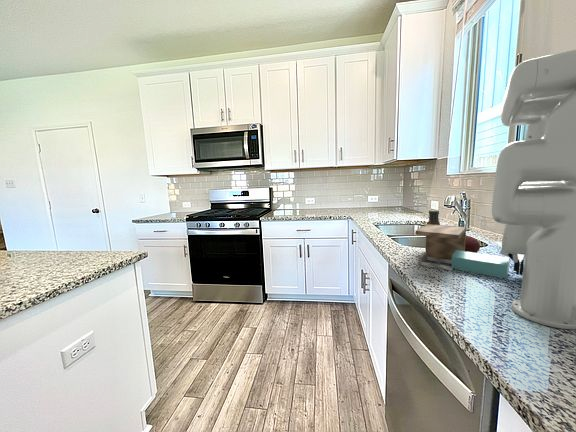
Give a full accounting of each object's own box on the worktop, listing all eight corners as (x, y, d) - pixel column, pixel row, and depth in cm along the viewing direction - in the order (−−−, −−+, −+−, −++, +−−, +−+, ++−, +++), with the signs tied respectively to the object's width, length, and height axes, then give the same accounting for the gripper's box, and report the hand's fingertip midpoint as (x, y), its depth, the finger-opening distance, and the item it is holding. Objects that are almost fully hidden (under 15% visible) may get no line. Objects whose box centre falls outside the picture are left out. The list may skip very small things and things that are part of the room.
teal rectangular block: (451, 268, 97) (451, 256, 96) (455, 261, 101) (455, 250, 99) (506, 278, 86) (507, 265, 84) (508, 270, 89) (509, 257, 88)
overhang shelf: (464, 261, 104) (466, 227, 102) (456, 274, 90) (458, 234, 88) (426, 255, 113) (427, 224, 111) (414, 267, 99) (415, 230, 97)
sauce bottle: (442, 255, 114) (445, 211, 111) (427, 254, 115) (429, 211, 113) (437, 251, 120) (439, 209, 118) (422, 250, 122) (424, 209, 119)
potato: (457, 257, 110) (458, 238, 109) (444, 250, 121) (445, 233, 120) (486, 257, 108) (487, 238, 107) (470, 250, 119) (472, 233, 118)
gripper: (555, 220, 81) (549, 275, 83) (495, 217, 91) (491, 266, 93) (558, 223, 75) (551, 282, 78) (494, 219, 85) (490, 272, 88)
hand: (519, 273), depth 86 cm, fingers closed
